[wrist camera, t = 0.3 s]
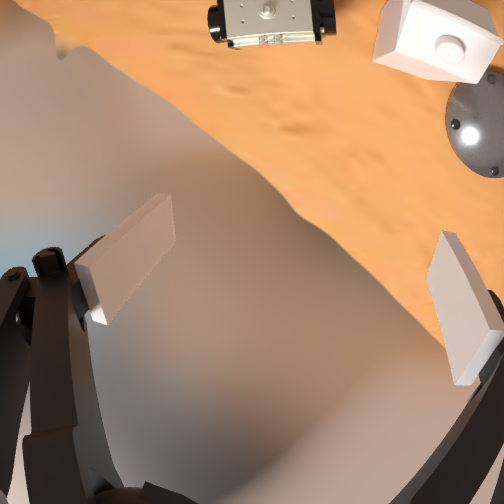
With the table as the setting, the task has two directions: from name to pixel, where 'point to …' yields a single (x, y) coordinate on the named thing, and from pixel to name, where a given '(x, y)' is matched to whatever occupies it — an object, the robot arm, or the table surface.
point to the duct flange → (478, 124)
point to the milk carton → (437, 39)
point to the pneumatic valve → (271, 22)
